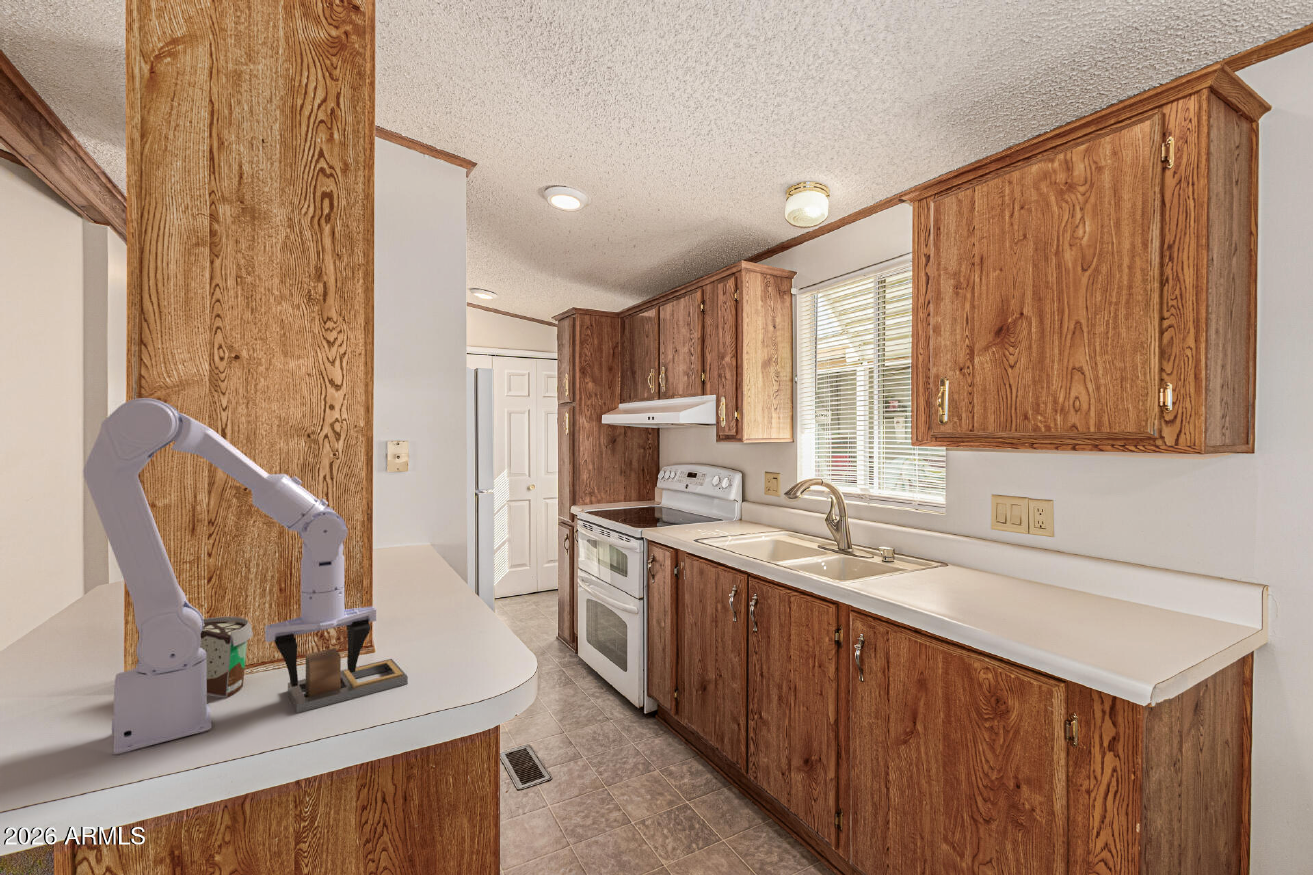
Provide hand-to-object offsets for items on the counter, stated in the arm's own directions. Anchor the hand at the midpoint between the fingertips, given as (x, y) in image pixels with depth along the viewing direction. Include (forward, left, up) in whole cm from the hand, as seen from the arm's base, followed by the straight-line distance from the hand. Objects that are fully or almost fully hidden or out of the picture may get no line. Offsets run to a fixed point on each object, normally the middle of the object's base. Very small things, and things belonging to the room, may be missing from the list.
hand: (323, 676), depth 87 cm
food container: (-12, +13, -3) cm, 18 cm away
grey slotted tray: (+3, 0, -3) cm, 4 cm away
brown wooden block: (0, 0, -3) cm, 3 cm away
